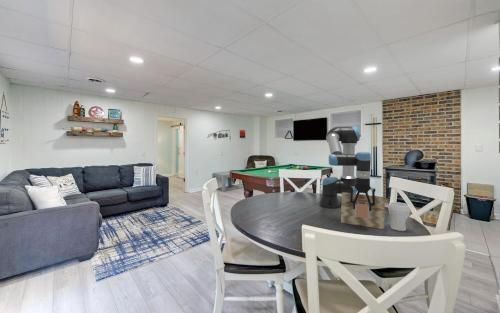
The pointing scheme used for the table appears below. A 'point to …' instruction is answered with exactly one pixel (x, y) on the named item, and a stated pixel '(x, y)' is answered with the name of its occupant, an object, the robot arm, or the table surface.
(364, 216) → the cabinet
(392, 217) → the cup
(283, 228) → the table surface
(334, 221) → the table surface
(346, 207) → the wallboard
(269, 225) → the table surface
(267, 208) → the table surface
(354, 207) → the robot arm
